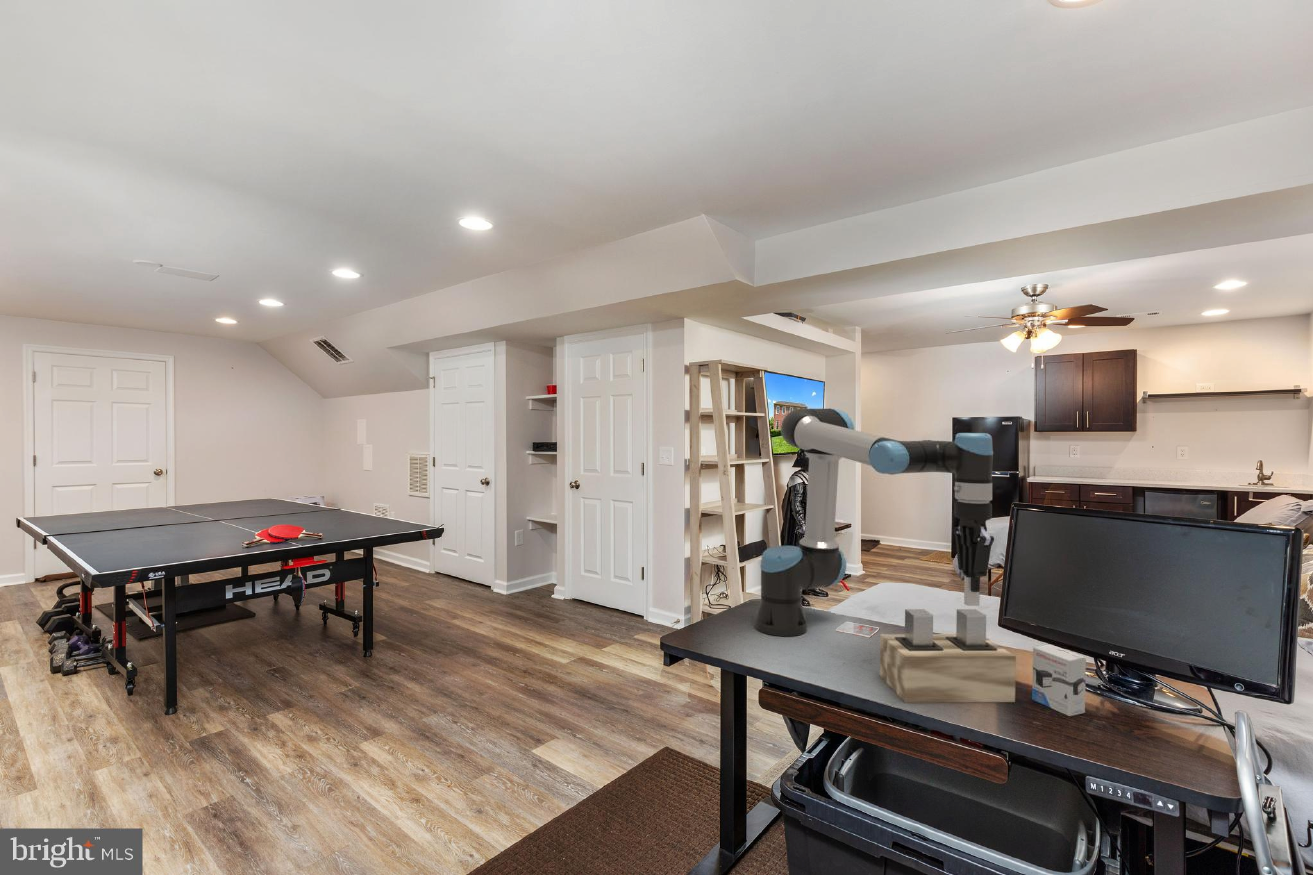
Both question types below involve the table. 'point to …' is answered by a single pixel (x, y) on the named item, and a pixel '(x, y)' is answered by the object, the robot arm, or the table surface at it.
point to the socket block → (947, 670)
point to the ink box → (1059, 679)
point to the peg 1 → (918, 628)
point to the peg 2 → (971, 628)
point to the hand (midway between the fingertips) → (971, 604)
